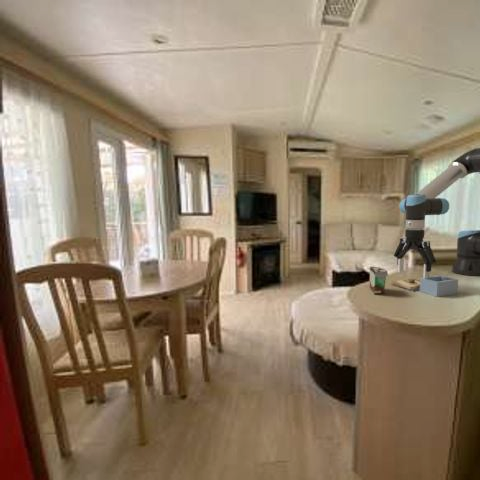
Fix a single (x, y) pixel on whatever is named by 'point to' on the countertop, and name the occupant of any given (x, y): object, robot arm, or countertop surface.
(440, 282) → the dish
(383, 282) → the food container
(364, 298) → the countertop surface
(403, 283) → the lid
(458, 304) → the countertop surface
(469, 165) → the robot arm
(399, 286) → the mat
